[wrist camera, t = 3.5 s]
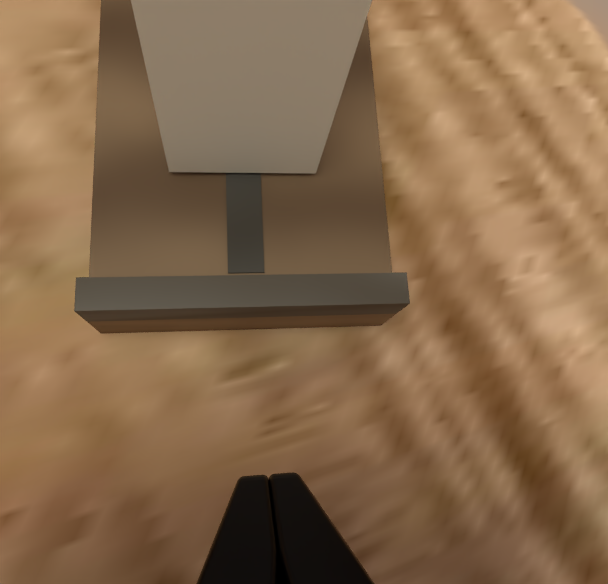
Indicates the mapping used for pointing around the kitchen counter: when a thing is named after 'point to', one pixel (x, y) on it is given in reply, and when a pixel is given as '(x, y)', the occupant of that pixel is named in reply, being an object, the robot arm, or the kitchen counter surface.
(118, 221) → the panel
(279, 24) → the slider knob
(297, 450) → the kitchen counter surface
